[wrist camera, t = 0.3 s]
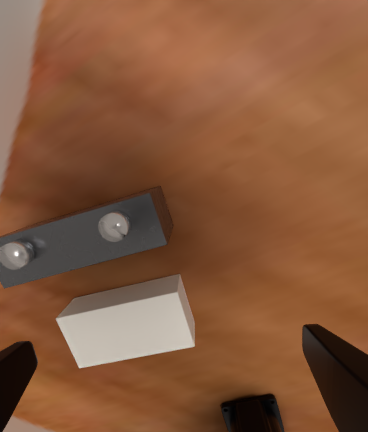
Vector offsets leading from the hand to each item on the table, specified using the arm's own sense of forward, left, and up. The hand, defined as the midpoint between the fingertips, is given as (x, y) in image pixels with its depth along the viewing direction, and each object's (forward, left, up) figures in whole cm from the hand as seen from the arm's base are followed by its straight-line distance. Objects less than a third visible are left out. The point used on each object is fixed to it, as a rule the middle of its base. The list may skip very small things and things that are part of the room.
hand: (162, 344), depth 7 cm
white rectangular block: (-8, +8, -14) cm, 18 cm away
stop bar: (+2, +8, -14) cm, 16 cm away
